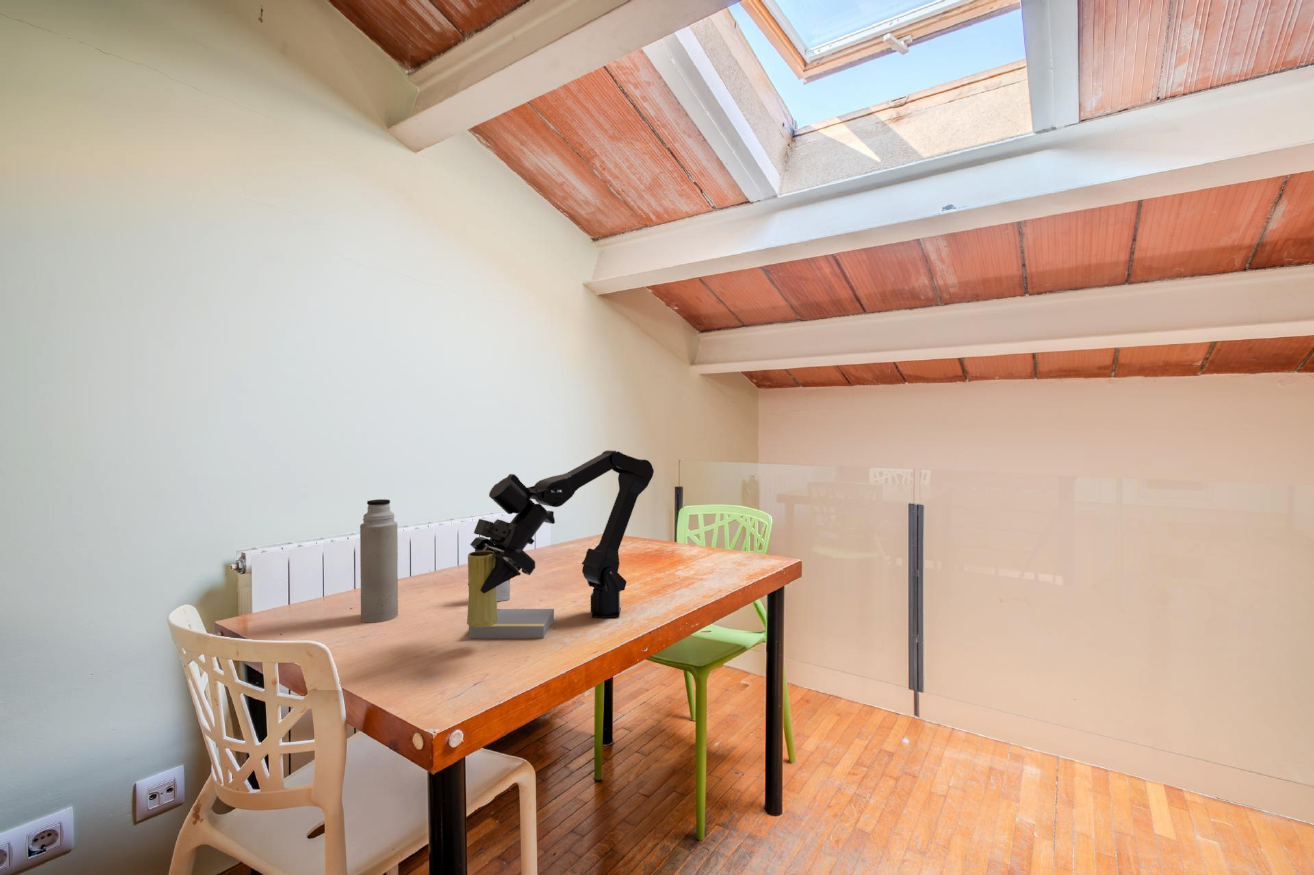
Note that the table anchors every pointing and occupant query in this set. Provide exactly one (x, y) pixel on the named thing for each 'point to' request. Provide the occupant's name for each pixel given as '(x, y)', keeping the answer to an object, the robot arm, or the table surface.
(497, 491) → the robot arm
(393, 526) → the thermos bottle
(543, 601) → the table surface
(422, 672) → the table surface
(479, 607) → the vase
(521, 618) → the gray and yellow box
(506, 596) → the skincare box
